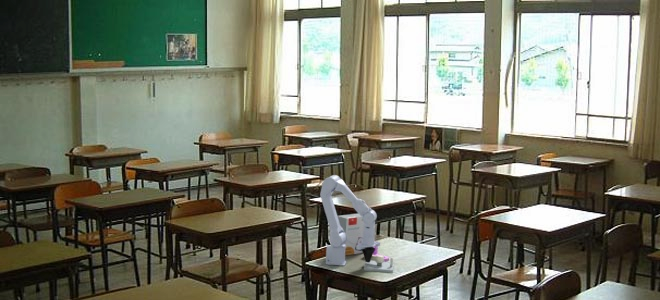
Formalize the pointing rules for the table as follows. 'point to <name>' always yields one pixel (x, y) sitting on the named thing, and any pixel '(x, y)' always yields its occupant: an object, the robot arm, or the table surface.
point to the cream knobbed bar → (377, 258)
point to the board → (379, 266)
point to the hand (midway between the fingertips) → (367, 262)
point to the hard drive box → (352, 232)
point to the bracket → (381, 255)
